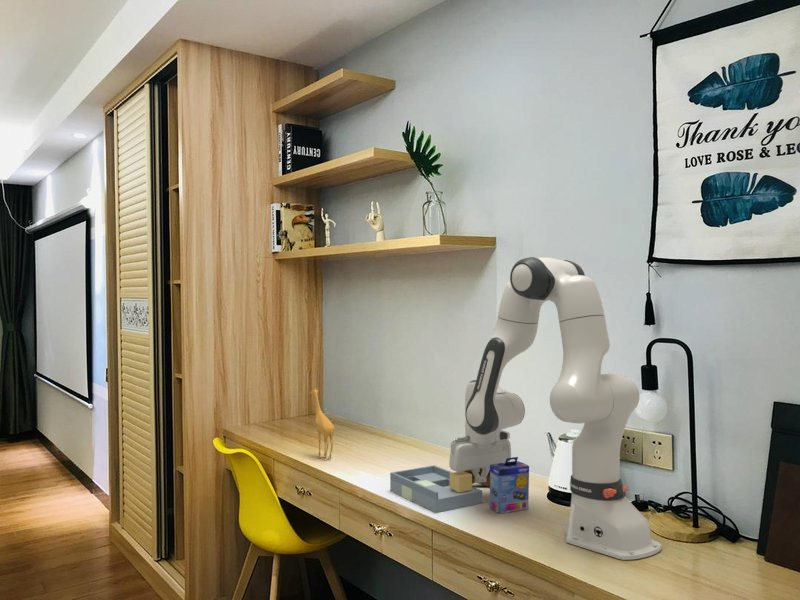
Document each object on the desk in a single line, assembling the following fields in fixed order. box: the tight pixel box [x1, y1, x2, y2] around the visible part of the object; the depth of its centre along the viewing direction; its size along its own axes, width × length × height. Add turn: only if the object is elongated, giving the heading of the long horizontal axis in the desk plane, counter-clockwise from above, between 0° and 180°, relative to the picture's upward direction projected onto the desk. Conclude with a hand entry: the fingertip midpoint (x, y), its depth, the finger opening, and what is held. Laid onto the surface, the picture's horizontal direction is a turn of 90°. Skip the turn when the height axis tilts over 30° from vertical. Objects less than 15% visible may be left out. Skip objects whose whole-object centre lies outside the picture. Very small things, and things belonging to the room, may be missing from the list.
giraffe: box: [309, 387, 336, 460], centre depth 241 cm, size 16×4×25 cm, turn 35°
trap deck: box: [389, 464, 483, 514], centre depth 193 cm, size 24×16×6 cm, turn 32°
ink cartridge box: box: [489, 456, 530, 514], centre depth 182 cm, size 10×6×14 cm, turn 113°
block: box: [450, 471, 473, 493], centre depth 187 cm, size 4×4×5 cm
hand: (480, 482), depth 191 cm, fingers closed
